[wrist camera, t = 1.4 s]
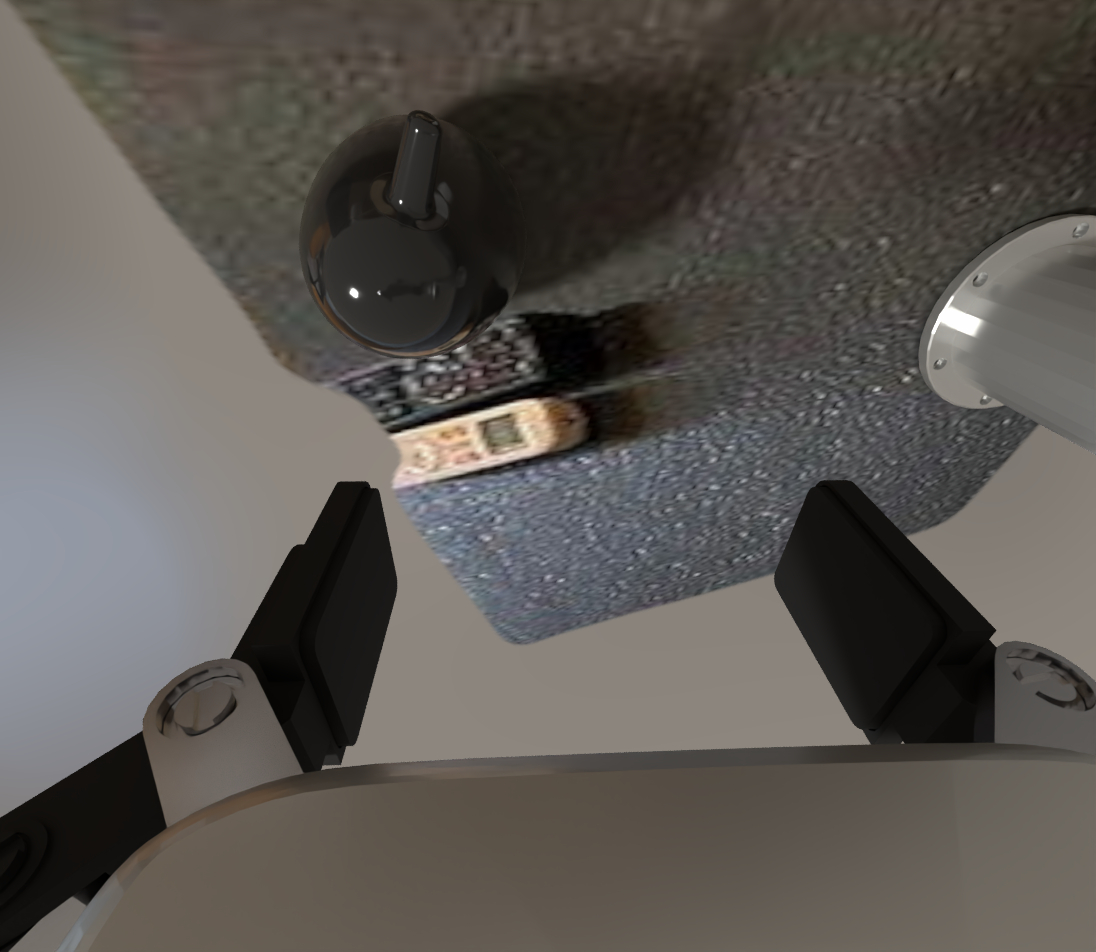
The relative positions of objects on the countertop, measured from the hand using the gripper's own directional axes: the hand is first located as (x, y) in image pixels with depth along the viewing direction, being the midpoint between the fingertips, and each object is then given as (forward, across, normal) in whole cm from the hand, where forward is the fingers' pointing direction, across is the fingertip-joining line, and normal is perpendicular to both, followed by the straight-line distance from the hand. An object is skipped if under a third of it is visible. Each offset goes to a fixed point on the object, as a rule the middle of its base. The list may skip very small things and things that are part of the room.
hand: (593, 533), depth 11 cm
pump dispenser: (+24, +6, -3) cm, 25 cm away
